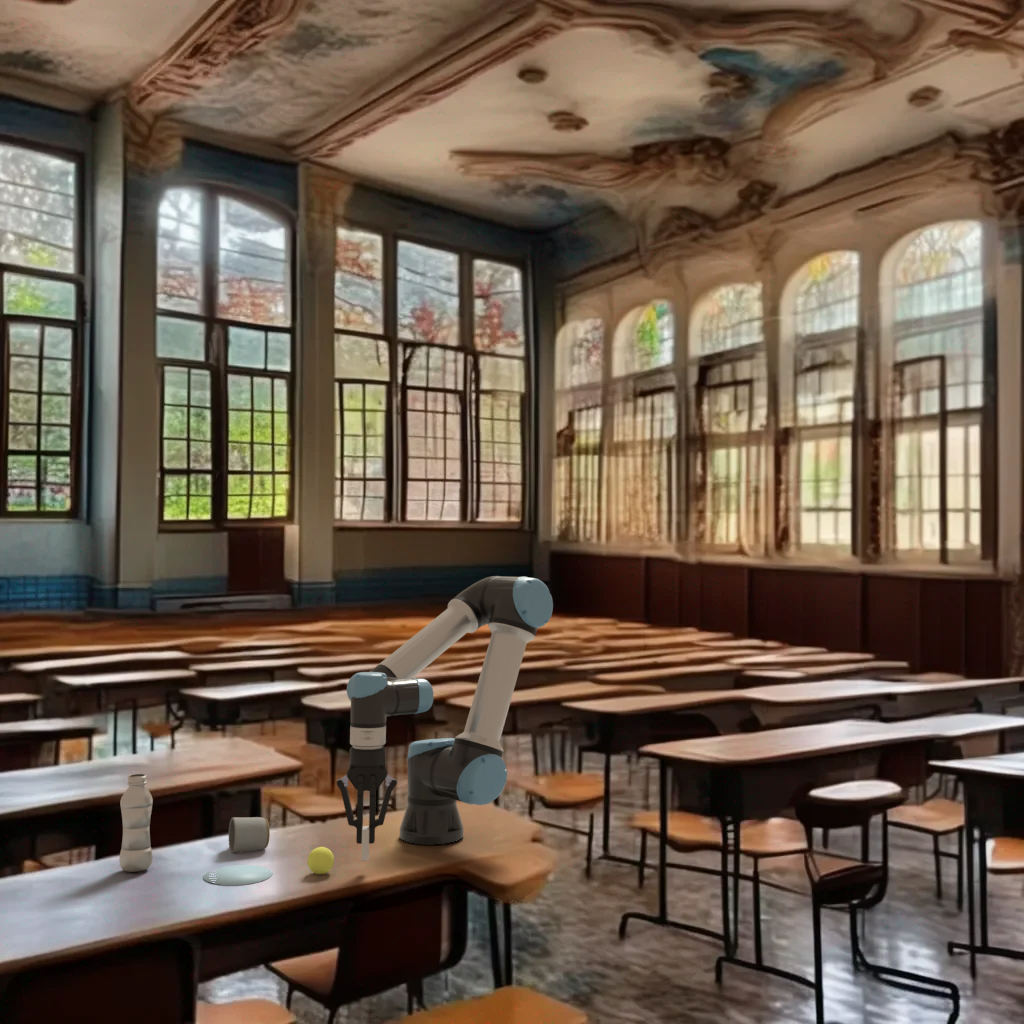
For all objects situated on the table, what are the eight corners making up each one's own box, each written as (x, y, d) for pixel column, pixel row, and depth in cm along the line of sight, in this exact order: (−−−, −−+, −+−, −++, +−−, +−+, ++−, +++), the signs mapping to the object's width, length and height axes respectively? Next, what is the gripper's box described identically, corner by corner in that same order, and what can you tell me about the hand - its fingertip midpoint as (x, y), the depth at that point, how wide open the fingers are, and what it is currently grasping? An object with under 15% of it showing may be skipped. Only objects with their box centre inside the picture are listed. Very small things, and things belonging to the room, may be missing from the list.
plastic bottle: (158, 870, 235) (159, 775, 235) (128, 877, 230) (130, 780, 230) (142, 864, 239) (144, 771, 240) (113, 871, 234) (115, 775, 235)
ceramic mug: (270, 852, 249) (271, 818, 250) (234, 856, 246) (234, 821, 246) (259, 842, 259) (260, 808, 259) (224, 846, 255) (224, 812, 256)
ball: (334, 869, 236) (335, 843, 236) (333, 877, 231) (333, 850, 231) (308, 870, 236) (308, 844, 236) (306, 877, 230) (306, 851, 230)
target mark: (276, 865, 239) (276, 864, 239) (268, 884, 225) (268, 883, 225) (209, 866, 238) (209, 865, 238) (197, 886, 224) (197, 885, 224)
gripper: (335, 749, 231) (332, 864, 230) (398, 749, 232) (396, 863, 231) (337, 743, 238) (335, 854, 237) (398, 743, 239) (396, 853, 238)
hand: (365, 858), depth 234 cm, fingers closed
